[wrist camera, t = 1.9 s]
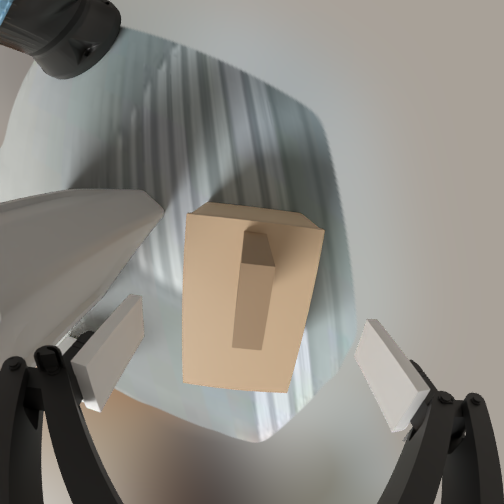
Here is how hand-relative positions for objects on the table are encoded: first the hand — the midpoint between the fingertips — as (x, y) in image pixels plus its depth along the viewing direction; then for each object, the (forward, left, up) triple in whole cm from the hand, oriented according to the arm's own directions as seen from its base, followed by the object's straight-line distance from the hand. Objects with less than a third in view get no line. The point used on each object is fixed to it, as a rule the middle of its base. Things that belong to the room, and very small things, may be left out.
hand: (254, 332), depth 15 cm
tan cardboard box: (+6, 0, -12) cm, 13 cm away
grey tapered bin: (+1, -23, -22) cm, 32 cm away
